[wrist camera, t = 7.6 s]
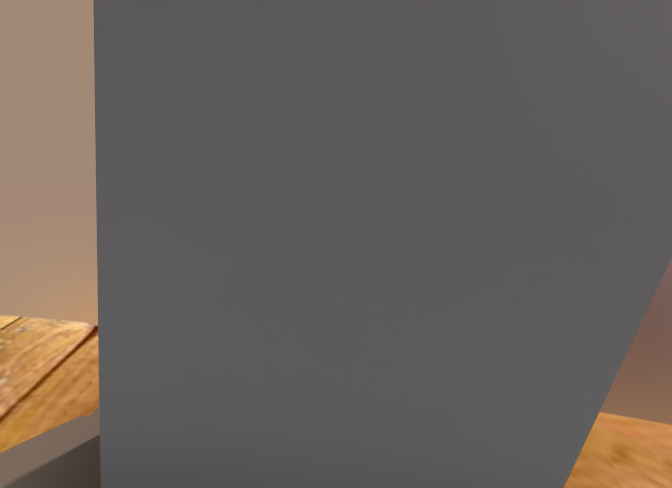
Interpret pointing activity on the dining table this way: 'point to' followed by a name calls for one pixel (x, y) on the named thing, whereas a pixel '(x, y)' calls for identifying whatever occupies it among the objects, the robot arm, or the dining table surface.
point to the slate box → (372, 235)
